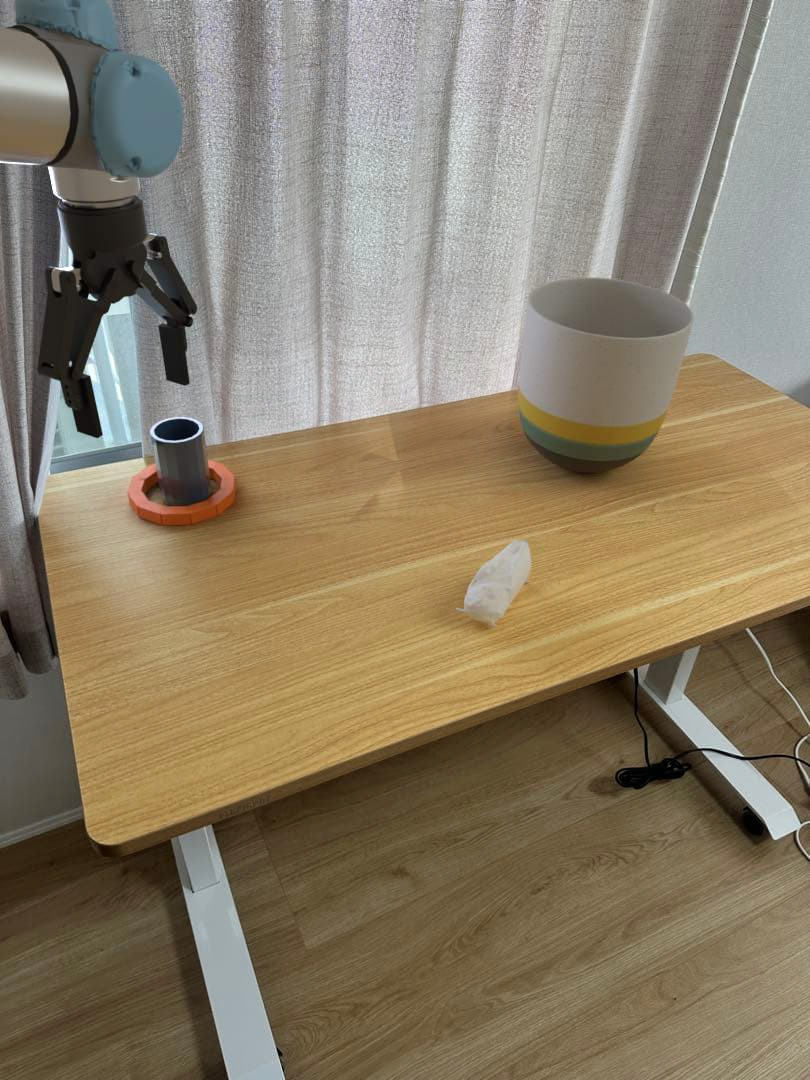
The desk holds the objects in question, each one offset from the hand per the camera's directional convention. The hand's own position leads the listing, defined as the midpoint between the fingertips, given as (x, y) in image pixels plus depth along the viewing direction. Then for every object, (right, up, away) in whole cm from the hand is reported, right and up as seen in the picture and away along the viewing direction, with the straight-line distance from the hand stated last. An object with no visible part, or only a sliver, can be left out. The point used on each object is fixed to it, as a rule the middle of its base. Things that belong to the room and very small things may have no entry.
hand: (136, 406), depth 86 cm
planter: (+52, -3, +23) cm, 57 cm away
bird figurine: (+38, -21, -1) cm, 44 cm away
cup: (+2, -9, +13) cm, 15 cm away
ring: (+2, -9, +12) cm, 15 cm away
